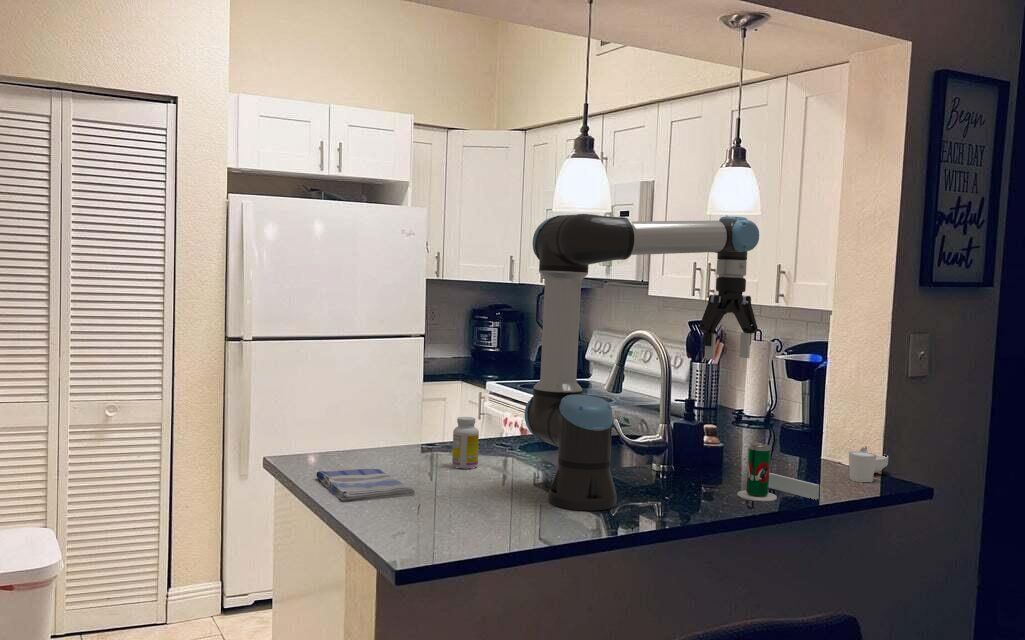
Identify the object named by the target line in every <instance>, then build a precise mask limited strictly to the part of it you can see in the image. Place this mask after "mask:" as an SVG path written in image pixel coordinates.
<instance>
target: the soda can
mask: <svg viewBox="0 0 1025 640" xmlns="http://www.w3.org/2000/svg"><path fill="white" fill-rule="evenodd" d="M749 445H750V446H748V448H747V449H748V452H747V470H746V472H747V473H746V489H745V490H746V492H747V493H748V494H749V495H751V496H755V497H765V496H767V495H768V493H769V489H770V488H769V473H771V472H770V469H771V449H770V444H766V443H761V442H752V443H750V444H749Z"/></svg>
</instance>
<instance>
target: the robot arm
mask: <svg viewBox="0 0 1025 640" xmlns="http://www.w3.org/2000/svg"><path fill="white" fill-rule="evenodd" d="M759 230H760V229H759V227H758V226H757V224H756V223H755V222H754V221H752V220H749V219H748V218H747V217H745V216H744V217H743V216H721V217H720V218H719V220H660V221H659V220H652V221H651V220H649V221H648V220H647V221H646V220H645V221H643V220H642V221H641V220H639V221H633V220H632V221H631V220H630V219H629V218H628V217H626V216H620V217H619V216H608V215H598V214H593V213H592V214H589V213H579V214H564V215H562V214H560V215H559V214H558V215H556V216H553V217H549V218H547V219H545V220H543V221H542V222H541V223H540V224H539V225H538V226H537V227H536V229H535V231H534V233H533V236H532V243H531V244H532V250H533V253H534V255H535V256H536V258H537V259H538V260H539V265H538V273H539V274H540V275H541V276H542V278H544V291H543V292H544V296H543V298H544V299H543V314H542V315H543V316H542V318H543V319H542V336H541V339H542V340H541V357H540V358H541V360H540V379H539V381H537V383H535V384H534V385H533V390H532V391H533V393H532V397H531V398H530V399H529V400H528V401H527V403H526V405H525V409H524V422H525V424H526V427H527V430H528V431H529V432H530V433H531V434H532V435H533V436H534V437H536V438H537V439H538V440H539V441H541V442H543V443H546V444H549V445H553V446H555V447H557V448H558V456H557V457H558V458H557V459H558V460H557V468H556V471H555V474H554V476H553V480H552V482H551V484H550V487H549V491H548V502H549V503H550V504H552V505H554V506H556V507H559V508H563V509H567V510H575V511H593V512H594V511H604V510H608V509H612V508H614V507H616V506H617V499H618V498H617V496H618V495H617V490H616V487H615V483H614V480H613V476H612V472H611V453H612V452H611V451H612V433H613V432H612V431H613V430H612V429H613V422H614V420H613V419H614V418H613V408H612V405H611V404H610V402H609V401H607V400H606V399H604V398H601V397H598V396H591V395H587V394H583V388H582V387H581V385H580V384H579V383H578V381H577V375H578V374H577V372H578V354H579V353H578V352H579V335H580V334H579V333H580V332H579V330H580V312H581V292H582V281H583V280H584V278H586V277H587V276H588V275H589V265H593V264H599V263H604V262H611V261H618V260H620V261H622V260H623V261H624V260H627V259H629V258H630V257H632V256H635V255H636V256H641V255H667V254H692V253H693V254H699V253H716V256H717V257H716V258H717V259H716V260H717V261H716V275H718V277H716V279H715V291H716V292H718V294H710V295H708V302H707V305H706V307H705V310H704V313H703V316H702V318H701V321H700V323H699V325H698V331H700V333H702V334H704V337H703V339H704V341H703V345H704V359H707V360H712V361H713V360H715V358H716V340H717V339H716V337H717V334H716V333H715V331H716V329H717V327H718V325H720V323H721V321H722V319H723V318H724V316H725V315H727V314H730V313H731V314H733V315H734V316H735V318H736V320H737V323H738V324H739V326H740V328H741V330H742V332H740V335H739V336H740V338H739V339H740V341H739V358H743V359H750V353H751V343H752V334H755V333H756V331H758V329H759V327H758V324H757V320H756V316H755V313H754V309H753V307H752V297H751V295H743V293H745V292H746V288H747V287H746V286H747V279H746V278H744V277H745V276H746V275H747V262H748V252H750V251H752V250H754V249H755V248H756V247H757V245H758V244H759V240H760V231H759Z"/></svg>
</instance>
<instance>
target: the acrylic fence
mask: <svg viewBox="0 0 1025 640" xmlns="http://www.w3.org/2000/svg"><path fill="white" fill-rule="evenodd" d="M769 489H773V490H777V491H780V492H784V493H787V494H791V495H795V496H798V497H799V496H800V497H803V498H806V499H810V498H811V500H814V499H815V500H814V501H818V500H819V497H820V484H818V483H813V482H809V481H805V480H800V479H797V478H793V477H789V476H784V475H780V474H777V473H772V472H769ZM817 499H818V500H817Z"/></svg>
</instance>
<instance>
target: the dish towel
mask: <svg viewBox="0 0 1025 640" xmlns="http://www.w3.org/2000/svg"><path fill="white" fill-rule="evenodd" d="M316 478H317V479H318V480H319V481H320V482H321V483H322V484H323V485H322V486H324V487H326V488H327V489H328V491H330V493H331V494H333V495H334V496H336V497H337V498H338V499H339V500H340V501H341V502H356V501H357V502H358V501H366V500H367V501H368V500H369V501H370V500H377V499H389V498H400V497H412V496H414V495H415V493H416V492H415V489H414V488H413V487H412V486H409V485H406V484H405V483H403V482H401V481H400V480H398V479H396V478H394V476H391V475H389V474H387V473H386V472H384V471H383V470H382V469H379V468H358V469H344V470H333V471H330V470H329V471H324V470H320V471H317V472H316Z"/></svg>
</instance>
